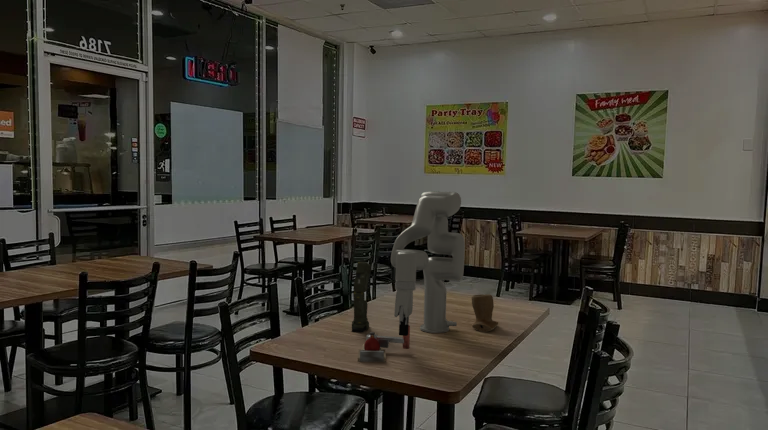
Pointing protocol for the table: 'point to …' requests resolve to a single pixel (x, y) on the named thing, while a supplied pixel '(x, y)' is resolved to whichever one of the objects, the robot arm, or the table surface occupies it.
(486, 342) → the table surface
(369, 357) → the base
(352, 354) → the table surface
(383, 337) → the lever
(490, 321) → the brown boot
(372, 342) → the onion
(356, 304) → the mechanical leg
